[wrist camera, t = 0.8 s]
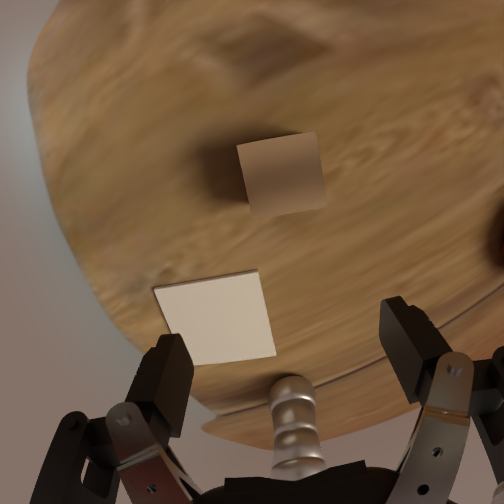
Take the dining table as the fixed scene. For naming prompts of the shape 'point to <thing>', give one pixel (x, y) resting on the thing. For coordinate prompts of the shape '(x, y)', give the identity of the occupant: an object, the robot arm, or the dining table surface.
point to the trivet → (219, 317)
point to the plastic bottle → (295, 430)
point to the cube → (282, 175)
